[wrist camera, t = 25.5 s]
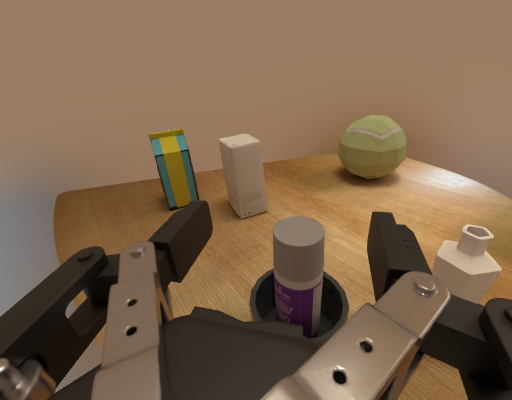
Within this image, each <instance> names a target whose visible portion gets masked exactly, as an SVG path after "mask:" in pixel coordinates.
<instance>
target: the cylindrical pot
mask: <svg viewBox="0 0 512 400" xmlns="http://www.w3.org/2000/svg"><path fill="white" fill-rule="evenodd" d="M348 311H349V304H348V300H347V297H346V293H345V291H344V290H343V289H342V287H341V286H340V285H339V283H338V282H337V281H336V280H335V279H334V278H333V277H331V276H330V275H328V274H327V273H326V272H324V271H323V283H322V296H321V309H320V322H319V335H318V337H317V338H310V339H311V340H312V341H314V342H316V343H317V344H318V345H320V346H321V347H322V346H323V345H324V344H325V343H326V342H327V341H328V340H329V339H330V338H331V337H332V336H333V335H334V334H335V333H336V332H337V331H338V330H339V329H340V328H341V327H342V326H343V325H344V324H345V323H346V322H347V318H348ZM250 312H251V320H252V322H258V321H276V304H275V285H274V269H272V270H269V271H267V272H266V273H265V274H264V275H263V276H261V277H260V278H259V279H258V280H257V282H256V284H255V285H254V287H253V289H252V291H251V296H250Z"/></svg>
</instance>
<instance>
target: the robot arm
mask: <svg viewBox="0 0 512 400" xmlns="http://www.w3.org/2000/svg"><path fill="white" fill-rule="evenodd" d="M212 230H213V226H212V220H211V215H210V210H209V205H208V203H207V201H199V200H192V201H190V202H189V203H188V205H187V206H186V207H185V208H184V209H181V210H179V211H177V212H176V213H174V214H173V215H172V216H171V217H170V218H169V219H168V221H166V222H165V223H164V224H163V226H161V227H160V228H159V229H158V230H157V231H156V232H155V234H154V235H153V236H152V237H151V238H150V239H149V240H148V241H140V242H136V243H133V244H131V245H129V246H128V247H126V248H125V249H124V250H123V251H122V252H121V254H115V255H107V256H106V254H105V252H104V250H103V248H102V247H98V246H94V247H89V248H86V249H83V250H81V251H79V252H77V253H76V254H74V255H73V256H72V257H70V258H69V259H68V260H67V261H66V262H65V263H63V264H62V265H61V266H60V267H59V268H57V269H56V270H55V271H54V272H53V273H52V274H50V275H49V276H48V277H47V278H46V279H45V280H43V281H42V282H41V283H40V284H39V285H37V286H36V287H35V288H34V289H33V290H32V291H30V292H29V293H28V294H27V295H26V296H25V297H23V298H22V299H21V300H20V301H19V302H17V303H16V304H15V305H14V306H13V307H12V308H10V309H9V310H8V311H7V312H6V313H4V314H3V315H2V316H1V317H0V400H397V399H398V397H399V395H400V394H401V392H402V390H403V389H404V387H405V386H406V384H407V383H408V381H409V380H410V378H411V377H412V375H413V374H414V372H415V371H416V369H417V368H418V366H419V365H420V363H421V362H422V360H423V359H424V357H425V356H426V354H427V355H429V356H431V357H433V358H435V359H437V360H440V361H442V362H444V363H446V364H448V365H450V366H453V367H455V368H457V369H458V370H459V373H460V376H461V379H462V382H463V385H464V388H465V391H466V394H467V397H468V400H512V300H509V299H503V298H495V299H491V300H489V301H488V302H487V303H486V305H485V306H482V305H480V304H477V303H474V302H471V301H468V300H465V299H462V298H459V297H457V296H455V295H453V294H451V292H450V290H449V288H448V287H447V286H446V284H445V283H443V282H442V281H441V280H440V279H438V278H436V277H435V276H433V275H432V273H431V271H430V268H429V266H428V264H427V262H426V259H425V257H424V255H423V253H422V250H420V249H421V248H420V246H419V244H418V243H417V239H416V237H415V235H414V233H413V232H412V231H411V230H410V229H409V228H408V227H407V226H406V225H399V224H396V222H395V219H394V217H393V214H392V213H390V212H373V213H372V216H371V222H370V228H369V234H368V241H367V253H368V259H369V265H370V271H371V277H372V282H373V288H374V294H375V300H376V303H375V304H374V305H373V306H372V305H371V304H369V303H366V304H364V305H363V306H362V307H361V308H360V309H359V310H358V311H357V312H356V313H355V314H354V315H353V316H352V317H351V318H350V319H349V320H348V321H347V322H346V323H345V324H344V325H343V326H342V327H341V328H340V329H339V330H338V331H337V332H336V333H335V334H334V335H333V336H332V337H331V338H330V339H329V340H328V341H327V342H326V343H325V344H324V345H323V346H322V347H321V346H320V345H318V344H317V343H316V342H314V341H312V340H311V339H309V338H307V337H305V336H303V326H302V325H296V324H291V323H285V322H279V321H258V322H242V321H240V320H238V319H236V318H233V317H231V316H229V315H227V314H225V313H223V312H221V311H218V310H212V309H207V308H201V307H196V306H195V307H194V309H193V311H192V313H191V315H186V316H181V317H178V318H175V319H174V317H173V310H172V303H171V297H170V290H169V287H168V285H169V283H170V282H178V283H181V282H182V280H183V279H184V277H185V276H186V274H187V272H188V271H189V269H190V268H191V266H192V265H193V263H194V262H195V260H196V259H197V257H198V256H199V254H200V253H201V251H202V249H203V248H204V246H205V245H206V243H207V242H208V240H209V239H210V237H211V235H212ZM82 290H83V291H84V293H85V294H86V296H87V299H86V300H85V301H84V302H83V303H82V304H81V305H80V306H79V307H78V308H77V310H76V311H75V312H74V313H73V314H72V315H71V316H70V317H69V318H68V319H67V318H66V315H65V310H66V308H67V306H68V304H69V303H70V302H71V301H72V300H73V299H74V298H75V297H76V296H77V295H78V294H79V293H80V292H81V291H82ZM105 323H106V328H105V337H104V345H103V353H102V362H101V364H100V365H98V366H97V367H95V368H94V369H92V370H91V371H89V372H87V373H86V374H84V375H83V376H81V377H80V378H78V379H76V380H75V381H73V382H72V383H70V384H69V385H67V386H66V387H64V388H63V389H61V390H60V391H58V392H56V393H55V389H56V388H57V386H58V385H59V384H60V382H61V381H62V380H63V378H64V377H65V376H66V374H67V373H68V372H69V370H70V369H71V368H72V367H73V365H74V364H75V363H76V361H77V360H78V359H79V357H80V356H81V355H82V354H83V352H84V351H85V350H86V348H87V347H88V346H89V344H90V343H91V342H92V340H93V339H94V338H95V337H96V335H97V334H98V333H99V331H100V330H101V329H102V327H103V326H104V325H105ZM54 393H55V394H54Z"/></svg>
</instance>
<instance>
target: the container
mask: <svg viewBox="0 0 512 400" xmlns="http://www.w3.org/2000/svg"><path fill="white" fill-rule="evenodd" d="M324 236H325V231H324V228H323V226H322V225H321V224H320V223H319V222H317V221H316V220H314V219H311V218H308V217H302V216H294V217H288V218H285V219H282V220H280V221H279V222H278V223H276V225H275V226H274V228H273V251H274V285H275V304H276V321H279V322H285V323H291V324H296V325H302V326H303V336H305V337H307V338H309V339H310V338H317V337H318V335H319V322H320V309H321V296H322V283H323V262H324Z"/></svg>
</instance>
